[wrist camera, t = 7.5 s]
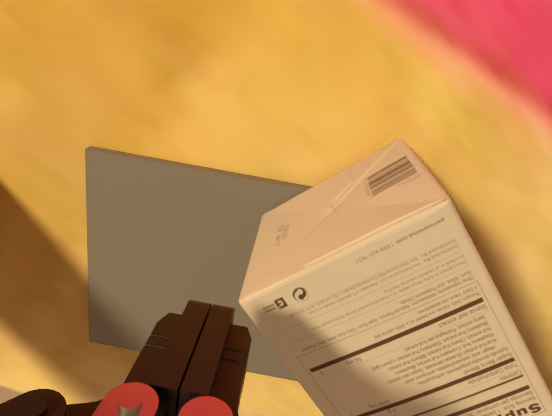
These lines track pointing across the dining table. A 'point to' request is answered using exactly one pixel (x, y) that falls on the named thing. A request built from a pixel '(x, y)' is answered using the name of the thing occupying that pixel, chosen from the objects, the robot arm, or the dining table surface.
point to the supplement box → (387, 299)
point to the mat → (172, 245)
